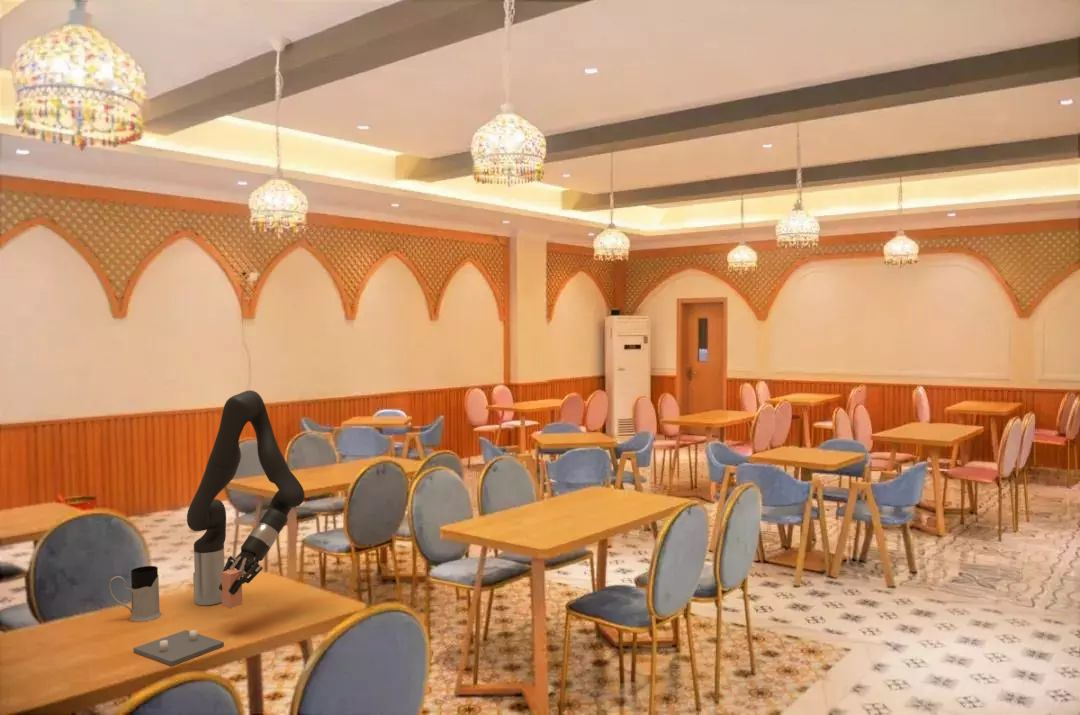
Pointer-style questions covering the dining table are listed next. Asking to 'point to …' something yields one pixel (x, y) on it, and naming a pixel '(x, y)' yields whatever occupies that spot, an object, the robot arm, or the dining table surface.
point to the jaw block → (227, 582)
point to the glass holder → (143, 593)
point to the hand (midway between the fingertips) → (226, 591)
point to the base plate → (178, 647)
